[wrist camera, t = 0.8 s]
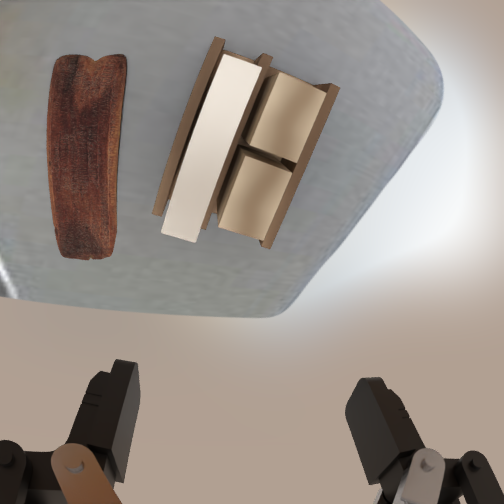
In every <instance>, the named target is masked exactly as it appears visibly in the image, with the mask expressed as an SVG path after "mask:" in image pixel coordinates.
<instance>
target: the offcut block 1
mask: <svg viewBox="0 0 504 504" xmlns="http://www.w3.org/2000/svg"><path fill="white" fill-rule="evenodd" d="M325 96H326V93H325V92H323V91H321V90H319V89H317V88H315V87H313V86H311V85H308V84H306V83H304V82H302V81H300V80H297V79H295V78H293V77H290V76H288V75H286V74H283V73H281V72H279V73H276V74H274V75H271V76H269V77H266V78H264V81H263V83H262V85H261V88H260V90H259V93H258V95H257V97H256V100H255V102H254V105H253V107H252V110H251V112H250V115H249V117H248V120H247V122H246V125H245V127H244V130H243V132H242V135H241V136H242V137H243V138H244V139H245V140H246V142H247V143H248V144H249V145H250V146H253V147H256V148H259V149H261V150H264V151H267V152H269V153H272V154H275V155H277V156H280V157H282V158H285V159H288V160H290V161H293V162H295V163H297V161H298V159H299V157H300V154H301V152H302V150H303V147H304V145H305V143H306V140H307V138H308V136H309V133H310V131H311V129H312V126H313V124H314V122H315V119H316V117H317V115H318V112H319V110H320V108H321V105H322V103H323V101H324V98H325Z"/></svg>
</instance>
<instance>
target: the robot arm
mask: <svg viewBox="0 0 504 504" xmlns="http://www.w3.org/2000/svg"><path fill="white" fill-rule="evenodd" d="M139 405H140V384H139V372H138V364H137V363H136V362H130V361H124V360H118V359H116V360H115V362H114V364H113V367H112V370H111V372H110V373H108V372H103V371H100V372H99V373H98V374H96V375H95V376H94V377H93V378H92V379H91V380H90V382H89V385H88V388H87V390H86V394H85V395H84V397H83V400H82V404H81V405H80V408H79V411H78V413H77V416H76V418H75V421H74V424H73V427H72V429H71V432H70V435H69V438H68V440H67V441H66V443H65V444H64V445H62V446H60V447H58V448H57V449H56V450H54V451H51V452H31V451H23V449H22V448H21V447H20V446H19V445H18V444H17V443H15V442H12V441H9V440H2V441H0V504H122V503H121V501H120V499H119V498H118V496H117V495H116V493H115V491H114V490H113V489H114V483H115V481H116V482H121V483H124V478H125V473H126V467H127V462H128V457H129V452H130V447H131V442H132V437H133V433H134V427H135V423H136V419H137V414H138V410H139ZM345 416H346V420H347V422H348V425H349V428H350V431H351V434H352V437H353V439H354V442H355V445H356V448H357V451H358V454H359V457H360V460H361V462H362V466H363V468H364V471H365V474H366V477H367V480H368V483H369V485H373V484H378V483H380V484H381V487H382V488H381V489H380V490H379V491H378V493H377V496H376V499H375V501H374V503H373V504H460V501H459V499H458V498H459V497H461V496H462V495H464V497H465V500H466V503H467V504H504V494H503V492H502V490H501V488H500V486H499V483H498V481H497V479H496V477H495V475H494V473H493V471H492V469H491V467H490V465H489V463H488V461H487V459H486V458H485V456H484V455H483V454H481V453H480V452H477V451H468V452H467V453H465V454H464V456H462V457H461V458H460V459H444V458H443V457H442V456H441V455H440V454H439V453H438V452H437V451H435V450H433V449H430V448H426V447H425V446H424V444H423V442H422V440H421V438H420V436H419V434H418V432H417V430H416V428H415V426H414V424H413V422H412V420H411V418H409V414H408V412H407V411H406V410H405V407H404V405H403V403H402V401H401V399H400V398H399V397H398V396H397V395H396V394H395V393H394V392H393V391H392V390H391V389H387V387H386V385H385V383H384V381H383V379H382V378H380V377H372V378H361V379H360V380H359V381H358V383H357V386H356V387H355V389H354V391H353V393H352V395H351V397H350V399H349V400H348V402H347V405H346V410H345Z"/></svg>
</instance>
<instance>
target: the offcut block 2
mask: <svg viewBox="0 0 504 504" xmlns="http://www.w3.org/2000/svg"><path fill="white" fill-rule="evenodd" d="M291 175H292V172H291V171H289V170H288V169H287V168H286V167H285V166H284V165H283V164H282V163H281V162H280V161H279V160H277V159H276V158H275V157H273V156H270V155H267V154H265V153H262V152H259V151H257V150H254V149H251V148H248V147H245V146H243V145H240V144H238V145H237V147H236V150H235V153H234V155H233V158H232V160H231V163H230V166H229V168H228V171H227V173H226V176H225V179H224V182H223V184H222V187H221V190H220V192H219V195H218V198H217V200H216V202H217V216H218V227H220V228H223V229H226V230H229V231H233V232H236V233H239V234H243V235H246V236H249V237H252V238H256V239H259V240H262V241H263V240H264V238H265V236H266V233H267V231H268V229H269V226H270V224H271V222H272V220H273V217H274V215H275V213H276V210H277V208H278V206H279V203H280V201H281V199H282V196H283V194H284V192H285V189H286V187H287V185H288V182H289V180H290V178H291Z"/></svg>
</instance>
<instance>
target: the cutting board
mask: <svg viewBox="0 0 504 504" xmlns="http://www.w3.org/2000/svg"><path fill="white" fill-rule="evenodd" d="M261 69H262V67H259V66H257V65H254V64H251V63H249V62H246V61H243V60H240V59H237V58H235V57H232V56H229V55H226V54H224V55H223V57H222V60H221V62H220V65H219V67H218V69H217V72H216V74H215V77H214V79H213V81H212V84H211V86H210V89H209V92H208V94H207V97H206V99H205V102H204V104H203V107H202V110H201V112H200V115H199V118H198V120H197V123H196V126H195V128H194V131H193V134H192V137H191V140H190V142H189V145H188V148H187V151H186V154H185V157H184V160H183V163H182V166H181V169H180V172H179V175H178V178H177V181H176V184H175V188H174V191H173V194H172V197H171V200H170V204H169V207H168V210H167V214H166V217H165V221H164V224H163V227H162V231H161V233H163V234H167V235H170V236H174V237H177V238H180V239H184V240H187V241H191V242H194V243H196V240H197V237H198V234H199V231H200V228H201V225H202V222H203V220H204V217H205V214H206V211H207V208H208V205H209V202H210V200H211V197H212V194H213V191H214V189H215V186H216V183H217V180H218V178H219V175H220V172H221V170H222V167H223V164H224V161H225V159H226V156H227V154H228V151H229V148H230V146H231V143H232V141H233V138H234V135H235V133H236V130H237V128H238V125H239V123H240V120H241V118H242V115H243V113H244V110H245V108H246V105H247V103H248V100H249V98H250V95H251V93H252V91H253V88H254V86H255V83H256V81H257V79H258V76H259V74H260V72H261Z"/></svg>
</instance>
